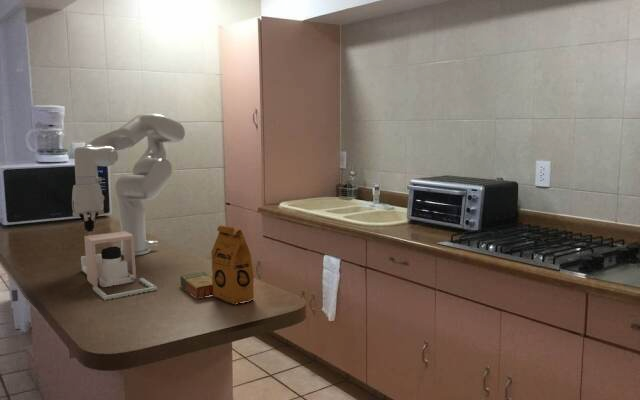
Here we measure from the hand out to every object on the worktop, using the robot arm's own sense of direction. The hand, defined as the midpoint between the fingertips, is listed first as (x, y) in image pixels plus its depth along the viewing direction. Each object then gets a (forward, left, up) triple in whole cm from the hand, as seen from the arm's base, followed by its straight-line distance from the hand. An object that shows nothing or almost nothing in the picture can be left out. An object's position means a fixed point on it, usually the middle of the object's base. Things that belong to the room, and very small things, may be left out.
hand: (89, 231), depth 206 cm
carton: (-19, +53, -14) cm, 58 cm away
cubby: (0, +23, -13) cm, 27 cm away
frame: (0, +37, -13) cm, 40 cm away
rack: (0, +18, -13) cm, 22 cm away
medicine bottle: (0, +26, -14) cm, 29 cm away
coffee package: (-23, +67, -13) cm, 72 cm away
